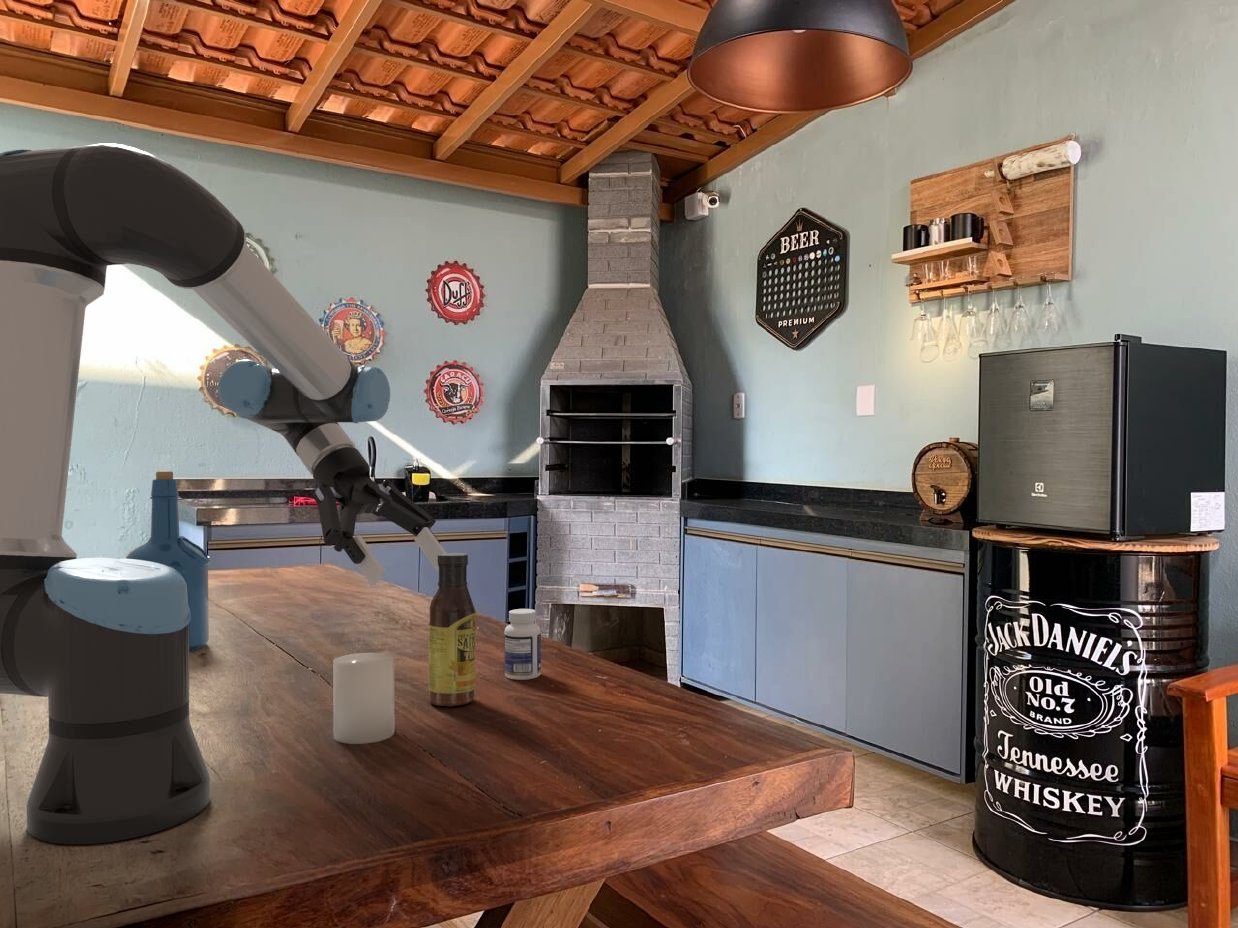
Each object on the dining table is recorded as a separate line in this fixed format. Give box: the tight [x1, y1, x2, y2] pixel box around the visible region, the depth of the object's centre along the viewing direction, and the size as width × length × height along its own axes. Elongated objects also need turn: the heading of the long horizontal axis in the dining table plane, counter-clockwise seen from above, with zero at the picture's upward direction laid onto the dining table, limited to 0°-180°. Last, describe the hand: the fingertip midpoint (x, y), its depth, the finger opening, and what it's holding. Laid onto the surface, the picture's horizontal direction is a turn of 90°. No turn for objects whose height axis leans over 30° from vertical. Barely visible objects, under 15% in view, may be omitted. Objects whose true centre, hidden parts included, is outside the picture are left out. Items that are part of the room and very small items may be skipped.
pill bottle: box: [503, 608, 542, 681], centre depth 139 cm, size 5×5×10 cm
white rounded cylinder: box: [332, 652, 395, 745], centre depth 111 cm, size 7×7×9 cm
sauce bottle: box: [427, 552, 477, 708], centre depth 125 cm, size 7×6×20 cm
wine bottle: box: [124, 470, 212, 653], centre depth 157 cm, size 14×13×30 cm
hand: (413, 572), depth 129 cm, fingers open, 13 cm apart
